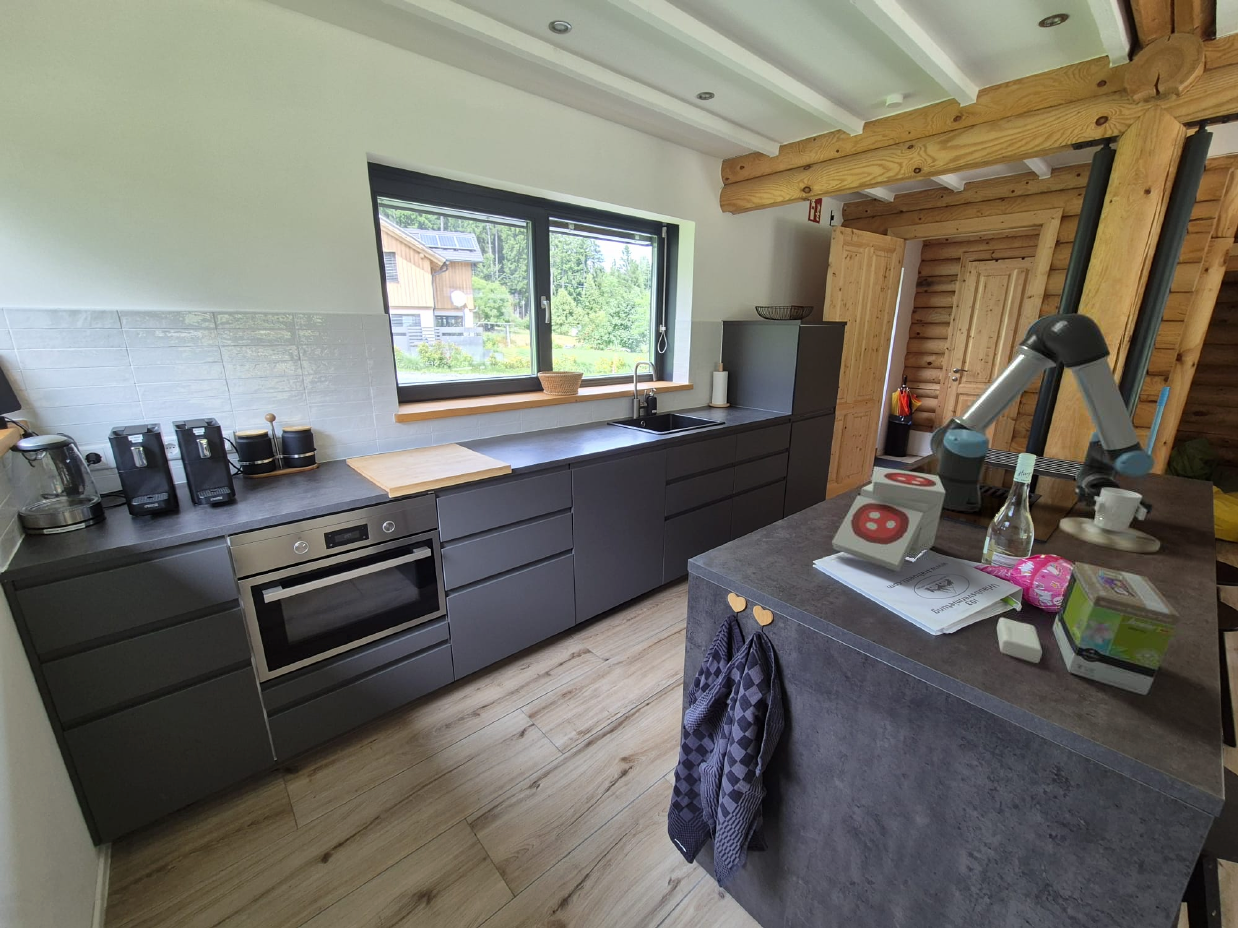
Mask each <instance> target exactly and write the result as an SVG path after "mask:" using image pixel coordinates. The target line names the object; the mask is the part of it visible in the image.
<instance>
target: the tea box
mask: <svg viewBox="0 0 1238 928" xmlns="http://www.w3.org/2000/svg"><path fill="white" fill-rule="evenodd" d="M1070 573H1071V574H1070V576H1069V579H1068V583H1067V585H1066V588H1065V591H1064V595H1063V597H1062V599H1061V603H1060V605H1059V609H1058V612H1057V614H1056V617H1055V619H1054V623H1053V627H1052V632H1053V633H1054V637H1055V638H1056V642H1057V644H1058V647H1059V649H1060V652H1061V655H1062V658H1063V660H1064V663H1065V666H1066V668H1067V671H1068V672H1069V673H1071V674H1074V675H1077V676H1080V677H1083V678H1086V679H1089V680H1093V681H1095V682H1099V683H1103V684H1106V685H1108V686H1112V687H1115V688H1119V689H1123V690H1126V691H1128V692H1132V693H1136V694H1140V695H1142V696H1146V695H1147V694H1148V692H1149V691H1150V688H1151V686H1152V684H1153V682H1154V679H1155V676H1156V674H1157V671H1158V670H1159V667H1160V665H1161V663H1162V660H1163V657H1164V655H1165V653H1166V651H1167V649H1168V646H1169V645H1170V644H1169V643H1170V642H1171V639H1172V637H1173V634H1174V632H1175V630H1176V628H1177V624H1178V622H1179V619H1180V618H1181V616H1180V614H1179V613H1178V612H1177V611H1176V609H1175V608H1174V607H1173V606H1172V605H1171V603H1170V602H1169V601H1168V600H1167V599H1166V597H1164V596H1163V594H1162V593H1161V592H1160V590H1158V589H1157V587H1156V586H1155V584H1153V583H1152V581H1150V579H1149V578H1148V577H1147V576H1143V575H1138V574H1133V573H1129V572H1125V571H1120V570H1116V569H1115V570H1114V569H1110V568H1107V567H1102V566H1097V565H1093V564H1088V563H1083V562H1078V561H1075V563H1074V565H1073V567H1072V571H1071V572H1070Z"/></svg>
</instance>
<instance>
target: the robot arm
mask: <svg viewBox="0 0 1238 928" xmlns="http://www.w3.org/2000/svg"><path fill="white" fill-rule="evenodd" d="M1016 347H1017V354H1016V355H1015V356H1014V357H1013V358H1012V359H1011V361H1010V362H1009V363H1008V364H1007V365H1006V366H1005V367H1004V368H1003V369H1002V371H1000V372H999V373H998V374H997V376H996V377H995V378H994V379H993V380H992V381H991V382H990V384H988V385H987V387H986V388H985V389H984V390H983V391H982V392H981V393H980V394H979V395H978V396H977V398H976V399H975V400H974V401H973V402H972V403H971V404H970V405H969V406H968V408H967V409H965V411H964V412H963V413H962V414H961V415H959V416H958V415H957V416H953V417H951V419H950V420H949V421H948V422H947V423H946V424H945V425H943V426H941V427H939V428H937V429H936V430H934V432H933V433H932V435H931V436H930V439H929V447H930V451H931V452H932V455H934V457H935V458H937V459H938V465H937V469H936V476H938V477H939V479H940V481H941V483H942V486H943V488H944V490H945V492H946V493H945V497H944V501H943V505H942V507H944V508H949V509H956V510H966V511H968V510H970V511H971V510H976V509H979V508H980V509H981V506H982V500H981V491H980V483H981V478H982V474H983V470H984V466H985V464H986V458H987V455H988V453H989V449H990V439H989V438H988V437H987V434H986V432H987V430H989V428H990V427H991V426H992V425H993V424H994V423H995V422H996V421H997V420H998V418H1000V417H1001V415H1003V414H1004V412H1006V410H1008V409H1009V408H1010V406H1011V405H1012V404H1013V403H1014V402H1015V401H1016V400H1017V399H1018V398H1019V397H1020V396H1021V395H1022V394H1023V393H1024V391H1025V390H1026V389H1028V387H1029V386H1031V384H1032V383H1033V382H1034V381H1036V379H1037V378H1038V377H1039V376H1040V375H1041V374H1042V373H1043V371H1045V370H1046V369H1049V368H1054V367H1056V366H1057V365H1058V364H1059V363H1060V362H1061V361H1062V363H1063V366H1064V368H1065V369H1066V370H1070V371H1071V372H1072V375H1073V377H1074V380H1075V382H1076V385H1077V387H1078V389H1079V392H1080V395H1081V397H1082V399H1083V402H1084V404H1085V407H1086V410H1087V413H1088V415H1089V417H1090V419H1091V421H1092V424H1093V427H1094V428H1095V431H1094V432H1093V433H1092V435H1091V438H1090V440H1089V441H1088V447H1087V451H1086V454H1085V457H1084V461H1083V463H1082V465H1081V468H1080V469H1079V470H1078V471H1077V473H1076V475H1075V479H1076V480H1075V481H1076V483H1077V485H1076V488H1075V491H1074V494H1075V495H1076V502H1079V503H1083V502H1085V507H1088V508H1091V507H1092V508H1093V509H1094V510H1095V513H1096V512H1099V513H1101V511H1102V508H1103V505H1104V503H1103V502H1102V501H1101V499H1100V498H1099V497H1100V493H1101V489H1102V488H1117V489H1122V488H1121V486H1120V484H1119V483H1118V482H1117V481H1116V480H1115V479H1114V478H1113V477H1114V476H1115V472H1117V473H1118V474H1121V475H1124V476H1126V477H1132V478H1135V477H1136V478H1137V477H1142V476H1145V475H1147V474H1149V473H1150V472H1151V470H1152V469H1153V468H1154V465H1155V460H1154V458H1153V456H1152V455H1150V454H1149V453H1148V452H1147V451H1145V450H1144V449H1143V447H1142V443H1140V440H1139V438H1138V436H1137V433H1136V431H1135V428H1134V426H1133V422H1132V420H1131V417H1130V415H1129V413H1128V409H1127V407H1126V404H1125V402H1124V400H1123V397H1122V395H1121V392H1120V389H1119V387H1118V385H1117V381H1116V378H1115V376H1114V374H1113V371H1112V369H1111V366H1110V363H1109V362H1108V361H1109V360H1108V359H1109V357H1110V355H1111V352H1110V350H1109V346H1108V345H1107V341H1106V340H1105V337H1104V335H1103V333H1102V330H1101V329H1100V327H1099V325H1098V323H1096V322H1095V321H1094V319H1093V318H1091V317H1089V316H1088V315H1085V314H1082V313H1081V314H1080V313H1067V314H1066V313H1054V314H1049V315H1046V316H1043V317H1040V318H1039V319H1037V320H1035V321H1034V322H1033V323H1031V325H1030V326H1029V327H1028V329H1027V330H1026V333H1025V337H1024V338H1023V340H1022V341H1021V342H1020V343H1019V344H1018V345H1017V346H1016ZM1153 506H1154V505H1153V504H1152V503H1150V502H1149V501H1148V500H1146V499H1143V498H1142V499H1141V501H1140V503H1139V506H1138V508H1137V510H1136V513H1135V515H1134V517H1136V518H1138V520H1139V521H1144V520H1145V517H1146V515H1150V514H1151V512H1152V510H1153Z"/></svg>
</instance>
